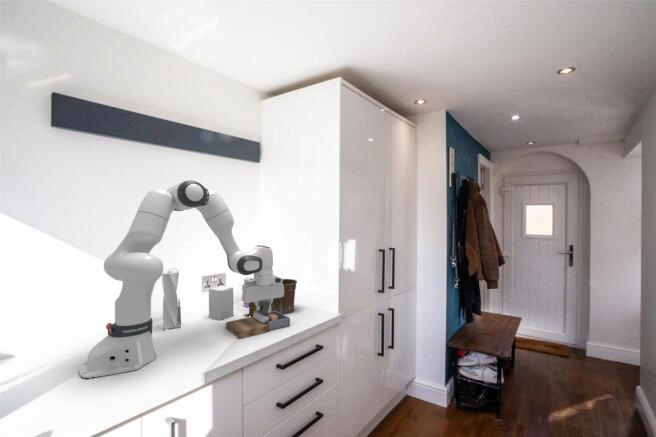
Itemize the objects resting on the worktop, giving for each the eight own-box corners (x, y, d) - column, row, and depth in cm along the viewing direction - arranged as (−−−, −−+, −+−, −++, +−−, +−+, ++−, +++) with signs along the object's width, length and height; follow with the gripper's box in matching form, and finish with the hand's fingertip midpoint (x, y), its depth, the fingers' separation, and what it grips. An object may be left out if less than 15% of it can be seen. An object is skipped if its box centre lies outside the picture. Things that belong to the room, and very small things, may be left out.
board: (239, 338, 135) (239, 331, 135) (226, 328, 148) (226, 321, 148) (269, 331, 144) (269, 325, 144) (254, 322, 157) (254, 316, 157)
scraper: (262, 323, 145) (267, 303, 146) (252, 317, 153) (257, 298, 155) (268, 323, 146) (273, 303, 148) (257, 317, 155) (262, 299, 157)
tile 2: (271, 317, 147) (277, 315, 149) (266, 314, 151) (272, 313, 153) (271, 328, 147) (277, 326, 149) (267, 325, 151) (272, 323, 153)
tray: (268, 331, 144) (268, 322, 144) (255, 323, 156) (255, 314, 156) (289, 326, 151) (289, 317, 151) (275, 318, 162) (275, 310, 162)
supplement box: (234, 315, 167) (234, 287, 167) (220, 320, 160) (220, 290, 160) (222, 313, 172) (222, 285, 172) (208, 317, 164) (208, 288, 164)
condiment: (263, 316, 167) (263, 293, 167) (247, 318, 162) (247, 295, 162) (258, 312, 173) (258, 290, 173) (243, 315, 168) (242, 292, 168)
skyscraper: (180, 329, 148) (180, 268, 148) (160, 331, 144) (160, 269, 144) (181, 323, 155) (181, 265, 155) (162, 325, 152) (162, 266, 152)
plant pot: (267, 316, 166) (267, 285, 166) (266, 308, 182) (266, 279, 182) (299, 314, 170) (299, 283, 170) (295, 306, 185) (295, 278, 185)
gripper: (245, 283, 142) (245, 314, 142) (285, 278, 154) (285, 307, 154) (239, 281, 147) (239, 311, 147) (279, 276, 159) (279, 304, 159)
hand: (263, 309), depth 151 cm, fingers closed on scraper, 4 cm apart
